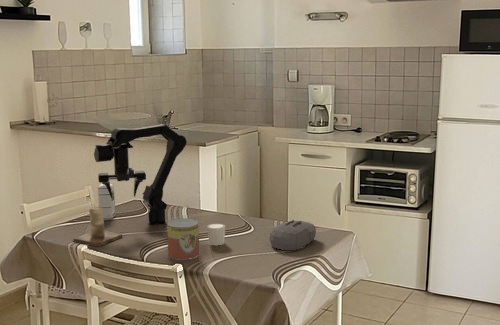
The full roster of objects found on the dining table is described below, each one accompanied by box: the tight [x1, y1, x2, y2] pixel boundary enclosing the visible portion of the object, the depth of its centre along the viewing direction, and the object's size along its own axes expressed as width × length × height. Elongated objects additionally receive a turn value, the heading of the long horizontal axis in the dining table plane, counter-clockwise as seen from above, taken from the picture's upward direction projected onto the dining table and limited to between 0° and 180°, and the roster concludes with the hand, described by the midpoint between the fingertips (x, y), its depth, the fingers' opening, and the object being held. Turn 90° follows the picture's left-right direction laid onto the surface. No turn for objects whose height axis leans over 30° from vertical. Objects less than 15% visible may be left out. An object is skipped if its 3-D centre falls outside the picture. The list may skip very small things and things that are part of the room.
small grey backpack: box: [268, 219, 317, 251], centre depth 234 cm, size 15×8×20 cm
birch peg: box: [88, 206, 105, 238], centre depth 241 cm, size 5×5×11 cm
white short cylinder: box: [206, 223, 226, 246], centre depth 235 cm, size 7×7×7 cm
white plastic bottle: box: [97, 183, 117, 220], centre depth 272 cm, size 6×6×14 cm
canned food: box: [166, 217, 200, 261], centre depth 222 cm, size 11×11×12 cm
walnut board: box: [73, 230, 123, 247], centre depth 242 cm, size 13×13×1 cm
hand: (123, 197), depth 254 cm, fingers open, 9 cm apart
